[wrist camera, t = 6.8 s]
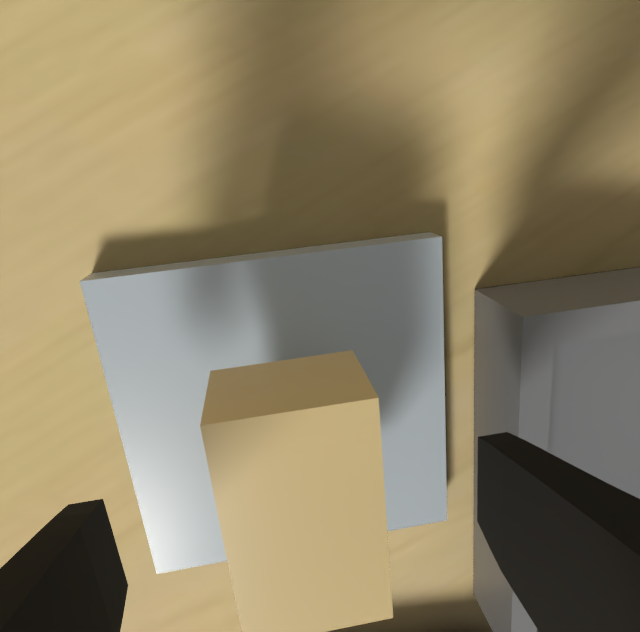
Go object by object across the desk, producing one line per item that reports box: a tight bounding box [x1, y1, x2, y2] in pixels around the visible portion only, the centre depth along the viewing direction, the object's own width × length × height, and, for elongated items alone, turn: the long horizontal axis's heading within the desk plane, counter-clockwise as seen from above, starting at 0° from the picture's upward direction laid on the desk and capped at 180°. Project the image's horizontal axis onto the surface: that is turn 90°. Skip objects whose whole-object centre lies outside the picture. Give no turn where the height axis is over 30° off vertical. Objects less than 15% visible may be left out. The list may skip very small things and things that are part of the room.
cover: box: [80, 232, 447, 632], centre depth 11 cm, size 9×9×5 cm
